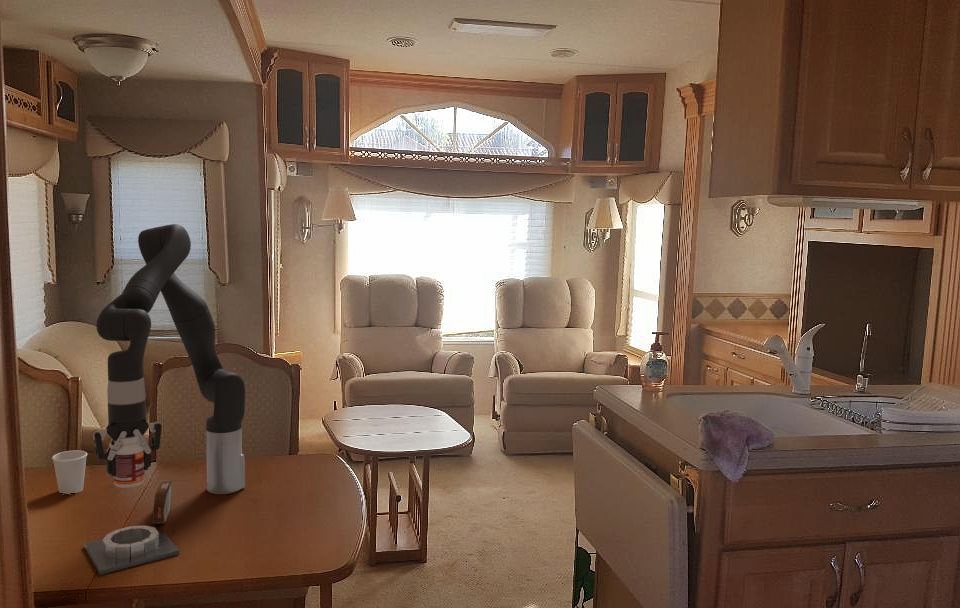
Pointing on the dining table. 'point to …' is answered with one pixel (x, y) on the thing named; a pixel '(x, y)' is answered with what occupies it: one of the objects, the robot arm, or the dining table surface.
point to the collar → (130, 548)
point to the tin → (162, 502)
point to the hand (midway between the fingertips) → (129, 471)
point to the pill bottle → (129, 463)
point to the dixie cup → (70, 470)
